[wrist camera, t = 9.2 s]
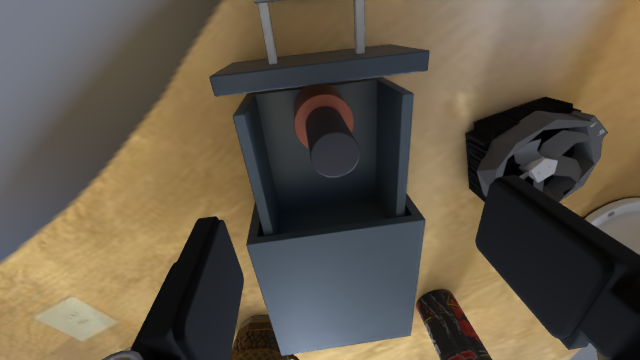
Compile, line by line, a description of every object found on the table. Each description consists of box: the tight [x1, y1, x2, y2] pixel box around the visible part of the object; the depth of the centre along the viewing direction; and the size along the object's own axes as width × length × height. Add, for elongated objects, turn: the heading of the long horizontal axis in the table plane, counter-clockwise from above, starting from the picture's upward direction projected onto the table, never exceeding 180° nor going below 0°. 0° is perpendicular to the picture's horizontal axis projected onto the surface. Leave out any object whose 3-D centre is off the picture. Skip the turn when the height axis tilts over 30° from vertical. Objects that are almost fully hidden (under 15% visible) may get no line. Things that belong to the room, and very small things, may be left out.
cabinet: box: [246, 193, 425, 356], centre depth 30 cm, size 17×15×9 cm
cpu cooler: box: [465, 97, 608, 202], centre depth 27 cm, size 10×6×10 cm
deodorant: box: [417, 290, 492, 360], centre depth 36 cm, size 6×6×15 cm
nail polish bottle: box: [294, 84, 360, 177], centre depth 19 cm, size 4×4×10 cm
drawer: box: [209, 0, 429, 236], centre depth 22 cm, size 20×13×7 cm, turn 5°
